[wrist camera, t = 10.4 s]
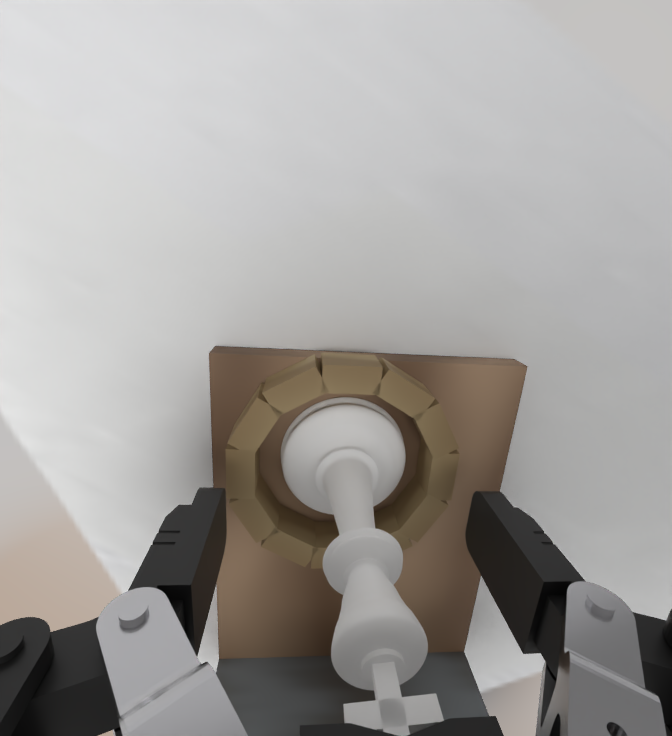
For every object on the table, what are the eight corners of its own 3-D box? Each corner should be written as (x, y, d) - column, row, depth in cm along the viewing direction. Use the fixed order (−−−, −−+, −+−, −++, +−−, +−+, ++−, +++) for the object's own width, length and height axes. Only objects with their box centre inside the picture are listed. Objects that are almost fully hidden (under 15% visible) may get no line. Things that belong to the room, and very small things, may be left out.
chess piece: (275, 400, 15) (223, 692, 5) (404, 392, 15) (581, 652, 5) (285, 510, 16) (259, 892, 7) (402, 500, 16) (537, 852, 7)
